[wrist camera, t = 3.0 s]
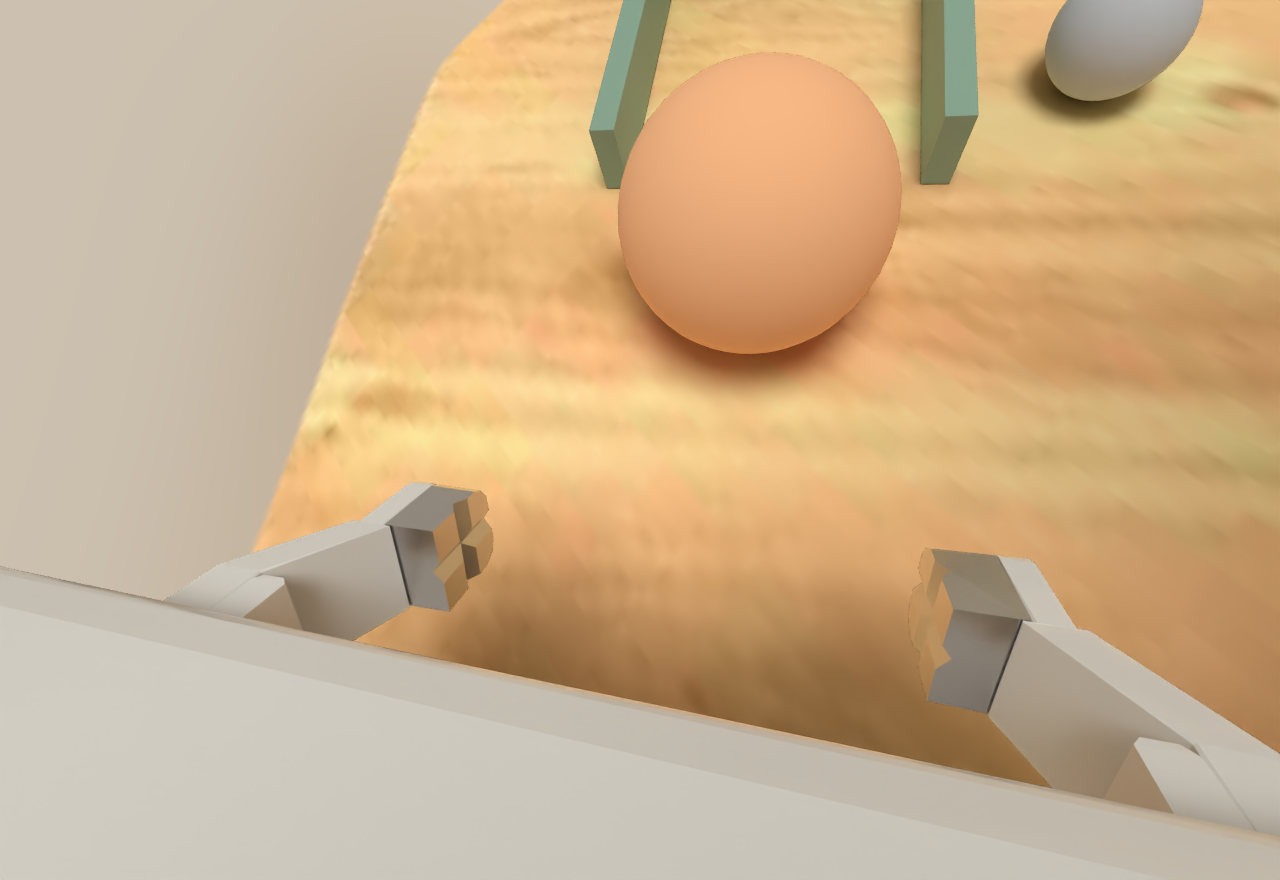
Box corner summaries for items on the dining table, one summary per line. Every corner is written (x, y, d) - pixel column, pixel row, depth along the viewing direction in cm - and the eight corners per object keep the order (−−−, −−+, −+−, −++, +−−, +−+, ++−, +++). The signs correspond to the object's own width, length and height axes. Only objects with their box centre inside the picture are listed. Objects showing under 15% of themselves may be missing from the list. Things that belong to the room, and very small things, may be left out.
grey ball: (1078, 33, 26) (1147, -95, 22) (1176, 82, 25) (1274, -48, 20) (999, 91, 26) (1052, -27, 22) (1092, 145, 24) (1171, 27, 20)
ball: (767, 175, 27) (774, -67, 18) (921, 302, 23) (1032, 77, 14) (604, 291, 26) (526, 104, 17) (734, 441, 23) (722, 302, 13)
